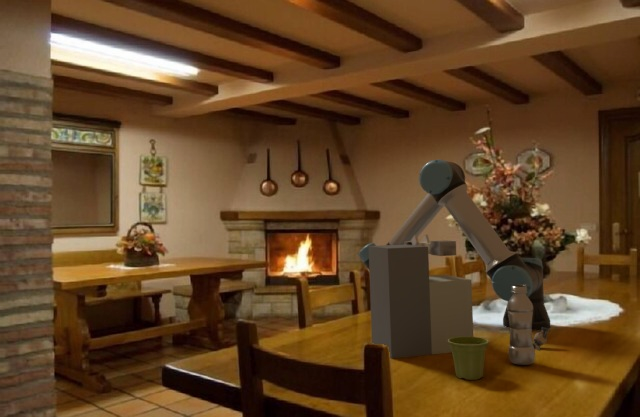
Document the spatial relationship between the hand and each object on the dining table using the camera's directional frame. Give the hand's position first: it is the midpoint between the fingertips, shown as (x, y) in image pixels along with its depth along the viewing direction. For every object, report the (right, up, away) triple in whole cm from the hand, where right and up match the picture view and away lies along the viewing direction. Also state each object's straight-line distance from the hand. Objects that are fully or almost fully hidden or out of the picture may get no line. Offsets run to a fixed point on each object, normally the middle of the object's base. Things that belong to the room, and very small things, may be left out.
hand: (422, 238), depth 171 cm
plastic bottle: (+20, -30, -32) cm, 48 cm away
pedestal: (-2, -31, -11) cm, 33 cm away
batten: (+1, -4, -3) cm, 5 cm away
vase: (+31, -31, -15) cm, 46 cm away
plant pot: (+4, -31, -41) cm, 51 cm away
